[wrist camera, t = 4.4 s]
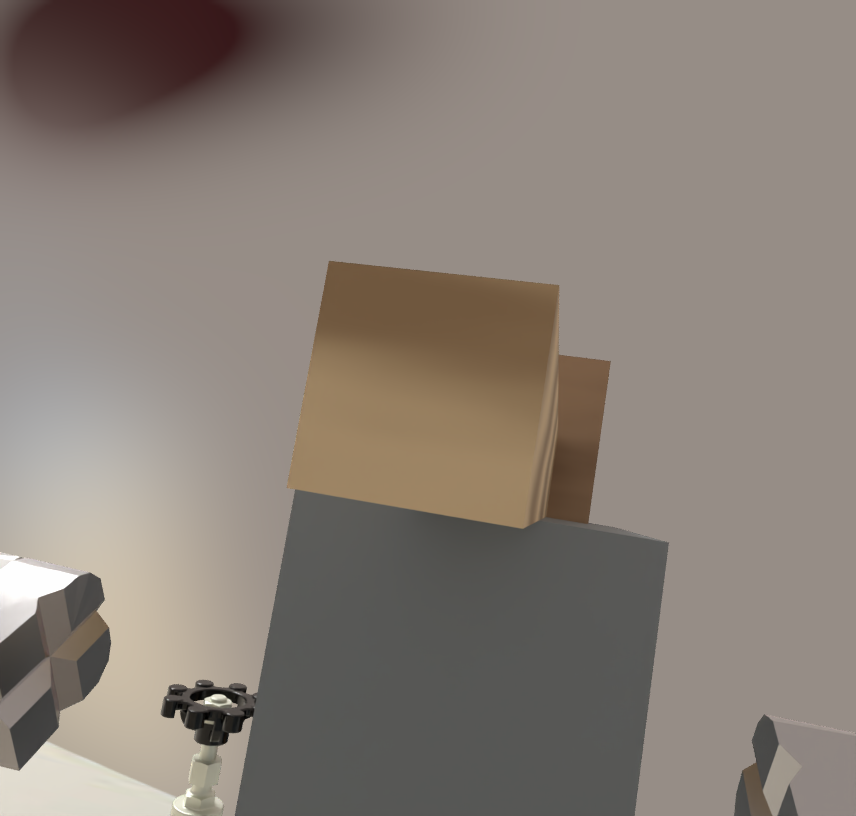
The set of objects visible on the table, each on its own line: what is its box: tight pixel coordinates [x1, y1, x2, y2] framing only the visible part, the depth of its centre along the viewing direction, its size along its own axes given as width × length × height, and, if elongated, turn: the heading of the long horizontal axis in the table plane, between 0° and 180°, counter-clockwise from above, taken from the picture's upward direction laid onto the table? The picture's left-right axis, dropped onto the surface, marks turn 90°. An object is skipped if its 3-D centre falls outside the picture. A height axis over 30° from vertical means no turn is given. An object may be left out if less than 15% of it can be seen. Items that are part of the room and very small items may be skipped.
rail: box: [287, 261, 610, 529], centre depth 24 cm, size 28×7×7 cm, turn 170°
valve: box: [161, 680, 257, 816], centre depth 43 cm, size 7×7×12 cm
